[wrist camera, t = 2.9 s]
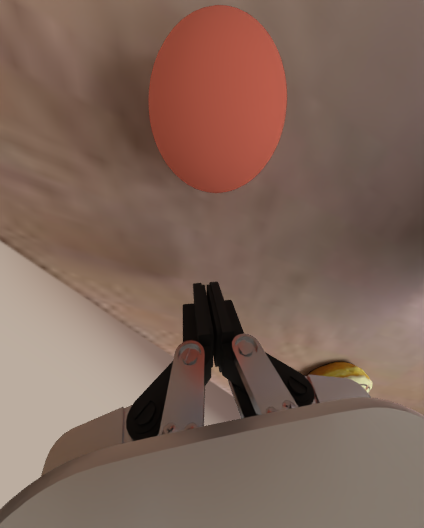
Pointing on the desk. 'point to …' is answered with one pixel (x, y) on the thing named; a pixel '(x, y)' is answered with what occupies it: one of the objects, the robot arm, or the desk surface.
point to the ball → (217, 98)
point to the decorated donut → (344, 373)
